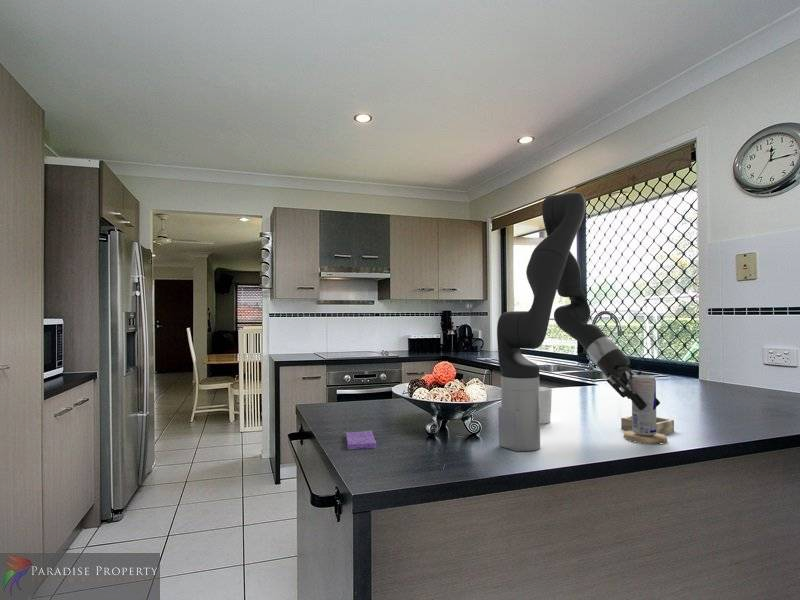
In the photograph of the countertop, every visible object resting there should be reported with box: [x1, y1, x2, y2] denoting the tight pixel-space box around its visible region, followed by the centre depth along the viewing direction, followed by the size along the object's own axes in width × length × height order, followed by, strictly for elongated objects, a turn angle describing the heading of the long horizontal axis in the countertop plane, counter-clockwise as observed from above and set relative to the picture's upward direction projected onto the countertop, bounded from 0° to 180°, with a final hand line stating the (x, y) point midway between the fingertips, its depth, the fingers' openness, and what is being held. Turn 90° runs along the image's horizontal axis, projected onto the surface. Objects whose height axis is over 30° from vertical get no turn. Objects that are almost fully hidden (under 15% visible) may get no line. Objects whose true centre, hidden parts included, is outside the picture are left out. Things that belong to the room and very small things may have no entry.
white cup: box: [539, 386, 553, 425], centre depth 143 cm, size 8×8×10 cm
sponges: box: [345, 430, 377, 450], centre depth 120 cm, size 7×13×2 cm, turn 9°
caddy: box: [620, 415, 675, 435], centre depth 131 cm, size 10×10×3 cm
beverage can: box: [631, 374, 657, 436], centre depth 122 cm, size 6×6×15 cm
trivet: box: [623, 430, 668, 445], centre depth 122 cm, size 10×10×1 cm
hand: (650, 406), depth 121 cm, fingers closed on beverage can, 5 cm apart
